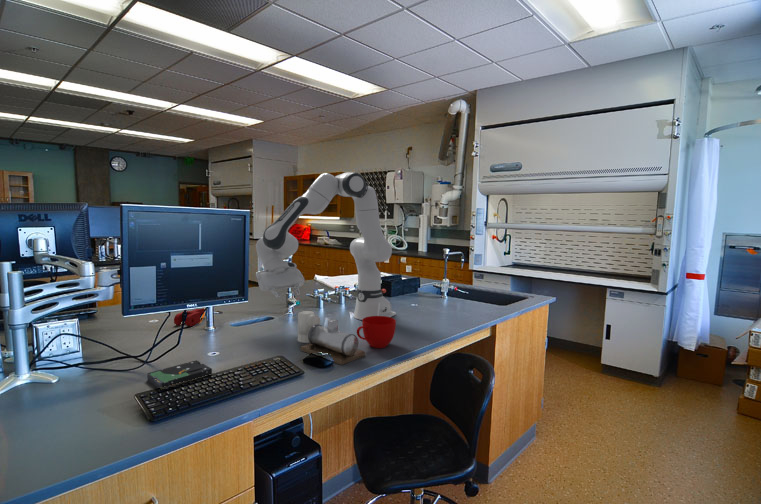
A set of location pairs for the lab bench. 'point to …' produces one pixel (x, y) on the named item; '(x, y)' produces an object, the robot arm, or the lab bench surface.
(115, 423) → the lab bench surface
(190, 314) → the dark red rounded piece
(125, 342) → the lab bench surface
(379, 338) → the ceramic cup
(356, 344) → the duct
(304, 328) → the duct elbow
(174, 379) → the disk drive
